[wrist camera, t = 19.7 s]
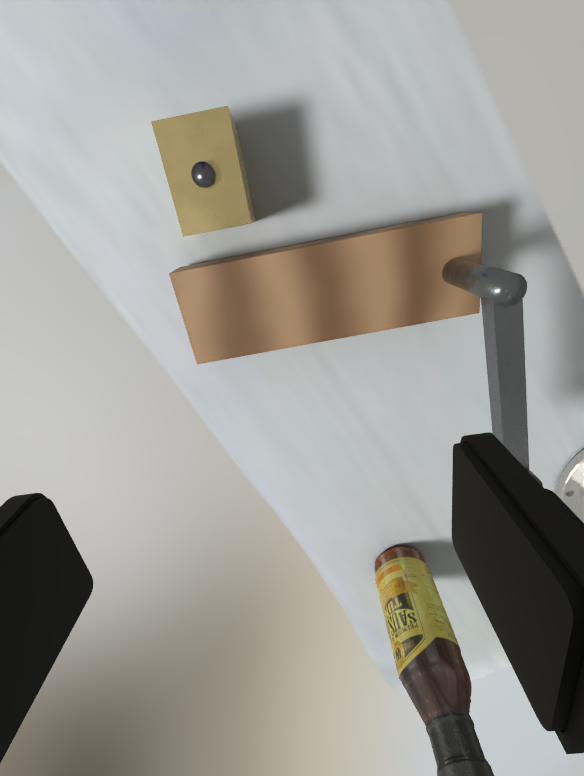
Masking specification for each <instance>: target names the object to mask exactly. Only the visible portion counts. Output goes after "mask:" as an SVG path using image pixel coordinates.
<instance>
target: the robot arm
mask: <svg viewBox="0 0 584 776" xmlns="http://www.w3.org/2000/svg"><path fill="white" fill-rule="evenodd" d="M452 540H453V544H454V548H455V551H456V553H457V555H458V557H459V559H460V561H461V563H462V565H463V567H464V569H465V571H466V573H467V575H468V577H469V579H470V581H471V583H472V586H473V588H474V590H475V592H476V594H477V596H478V598H479V600H480V602H481V604H482V606H483V608H484V610H485V612H486V614H487V616H488V618H489V620H490V622H491V624H492V626H493V628H494V630H495V632H496V634H497V636H498V638H499V640H500V643H501V645H502V647H503V649H504V651H505V653H506V655H507V657H508V659H509V661H510V663H511V665H512V667H513V669H514V671H515V673H516V675H517V677H518V679H519V681H520V683H521V685H522V687H523V689H524V691H525V693H526V695H527V697H528V700H529V701H530V703H531V706H532V708H533V710H534V712H535V714H536V716H537V718H538V719H539V721H540V723H541V724H542V726H543V727H544V728H545V729H546V730H547V731H555V732H556V734H557V736H558V738H559V740H560V742H561V744H562V746H563V747H564V750H565V751H566V754H575V753H584V449H583V450H582V451H581V452H580V453H578V454H577V455H576V456H575V457H574V458H573V459H572V460H571V461H570V463H569V464H568V465H567V467H566V468H565V470H564V471H563V473H562V475H561V477H560V479H559V481H558V485H557V490H556V494H555V493H554V492H552V491H550V490H548V489H544V488H543V487H542V486H541V485H540V484H539V483H538V482H537V480H536V479H535V478H534V477H533V476H532V475H531V474H530V473H529V472H528V471H527V470H526V469H525V468H524V467H523V465H522V464H521V463H520V462H519V461H518V460H517V459H516V458H515V457H514V456H513V455H512V454H511V453H510V452H509V450H508V449H507V448H506V447H505V446H504V445H503V444H502V443H501V442H500V441H499V440H498V439H497V438H496V437H495V435H493V434H492V433H481V434H474V435H467V436H463V437H462V438H461V443H457V444H454V446H453V486H452ZM92 589H93V579H92V576H91V574H90V572H89V570H88V568H87V566H86V565H85V563H84V561H83V559H82V557H81V555H80V553H79V551H78V550H77V548H76V545H75V544H74V542H73V540H72V538H71V536H70V534H69V532H68V530H67V529H66V527H65V525H64V523H63V521H62V519H61V517H60V515H59V513H58V512H57V509H56V507H55V506H54V504H53V502H52V501H51V500H50V499H48V498H46V497H45V496H44V495H43V494H41V493H35V494H26V495H19V496H14V497H11V498H10V499H8V500H7V501H6V502H5V503H4V504H3V505H2V506H1V507H0V763H1V761H2V759H3V757H4V755H5V753H6V752H7V750H8V748H9V746H10V744H11V742H12V740H13V738H14V737H15V735H16V733H17V731H18V729H19V727H20V725H21V724H22V722H23V720H24V718H25V716H26V714H27V712H28V710H29V708H30V707H31V705H32V703H33V701H34V699H35V697H36V695H37V694H38V692H39V690H40V688H41V686H42V684H43V682H44V681H45V679H46V677H47V675H48V673H49V671H50V669H51V668H52V666H53V664H54V662H55V660H56V658H57V656H58V655H59V653H60V651H61V649H62V647H63V645H64V643H65V641H66V640H67V638H68V636H69V634H70V632H71V630H72V628H73V627H74V625H75V623H76V621H77V619H78V617H79V615H80V614H81V612H82V610H83V608H84V606H85V604H86V602H87V600H88V599H89V596H90V595H91V592H92Z"/></svg>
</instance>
